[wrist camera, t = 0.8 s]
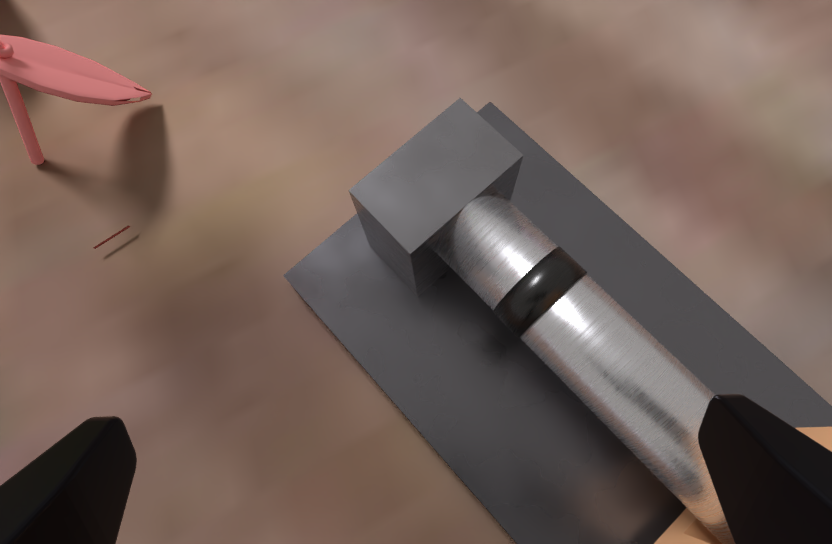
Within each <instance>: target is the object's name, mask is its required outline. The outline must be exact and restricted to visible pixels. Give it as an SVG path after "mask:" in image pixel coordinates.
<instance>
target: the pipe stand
mask: <svg viewBox="0 0 832 544" xmlns="http://www.w3.org/2000/svg"><path fill="white" fill-rule="evenodd" d="M349 193H350V195H351V198H352V201H353V203H354V206H355V208H356V211H357V214H356V215H355V216H353V217H352V218H351V219H350V220H349V221H347V222H346V223H345V224H344V225H343V226H342V227H340V228H339V229H338V230H337V231H336V232H334V233H333V234H332V235H331V236H330V237H328V238H327V239H326V240H325V241H324V242H322V243H321V244H320V245H319V246H318V247H317V248H315V249H314V250H313V251H312V252H311V253H309V254H308V255H307V256H306V257H305V258H303V259H302V260H301V261H300V262H299V263H297V264H296V265H295V266H294V267H293V268H292V269H290V270H289V271H288V272H287V273H286V274H284V275H283V276H284V277H285V278H286V279H287V281H288V282H289V283H290V284H291V285H292V286H293V287H294V289H295V290H296V291H297V292H298V293H299V294H300V295H301V297H302V298H303V299H304V300H305V301H306V302H307V303H308V305H309V306H310V307H311V308H312V309H313V310H314V311H315V313H316V314H317V315H318V316H319V317H320V318H321V320H322V321H323V322H324V323H325V324H326V325H327V326H328V328H329V329H330V330H331V331H332V332H333V333H334V334H335V336H336V337H337V338H338V339H339V340H340V341H341V342H342V344H343V345H344V346H345V347H346V348H347V349H348V350H349V352H350V353H351V354H352V355H353V356H354V357H355V358H356V360H357V361H358V362H359V363H360V364H361V365H362V366H363V368H364V369H365V370H366V371H367V372H368V373H369V375H370V376H371V377H372V378H373V379H374V380H375V381H376V383H377V384H378V385H379V386H380V387H381V388H382V389H383V391H384V392H385V393H386V394H387V395H388V396H389V397H390V399H391V400H392V401H393V402H394V403H395V404H396V405H397V407H398V408H399V409H400V410H401V411H402V412H403V413H404V415H405V416H406V417H407V418H408V419H409V420H410V421H411V423H412V424H413V425H414V426H415V427H416V428H417V429H418V431H419V432H420V433H421V434H422V435H423V436H424V438H425V439H426V440H427V441H428V442H429V443H430V444H431V446H432V447H433V448H434V449H435V450H436V451H437V452H438V454H439V455H440V456H441V457H442V458H443V459H444V460H445V462H446V463H447V464H448V465H449V466H450V467H451V468H452V470H453V471H454V472H455V473H456V474H457V475H458V476H459V478H460V479H461V480H462V481H463V482H464V483H465V484H466V486H467V487H468V488H469V489H470V490H471V491H472V493H473V494H474V495H475V496H476V497H477V498H478V499H479V501H480V502H481V503H482V504H483V505H484V506H485V507H486V509H487V510H488V511H489V512H490V513H491V514H492V515H493V517H494V518H495V519H496V520H497V521H498V522H499V523H500V525H501V526H502V527H503V528H504V529H505V530H506V531H507V533H508V534H509V535H510V536H511V537H512V538H513V539H514V541H515V542H516V543H517V544H654V543H655V542H656V541H657V540H658V539H659V537H660V536H661V535H662V534H663V533H664V532H665V531H666V530H667V529H668V528H669V527H670V525H671V524H672V523H673V522H674V521H675V520H676V519H677V518H678V517H679V516H680V515H681V513H682V512H683V511H684V510H685V509H686V508H688V509H689V510H690V512H691V513H692V514H693V515H694V516H695V517H696V518H697V519H698V520H699V521H700V522H701V523H702V524H703V525H704V526H705V527H706V528H707V529H708V530H709V531H710V532H711V533H712V534H713V535H714V536H715V537H716V538H717V539H718V540H719V541H720V542H721V543H722V544H735V542H734V540H733V537H732V535H731V532H730V529H729V527H728V524H727V522H726V519H725V516H724V513H723V511H722V508H721V505H720V502H719V499H718V497H717V494H716V491H715V488H714V486H713V483H712V480H711V477H710V475H709V472H708V469H707V466H706V464H705V461H704V458H703V455H702V453H701V450H700V447H699V442H698V432H699V428H700V425H701V423H702V420H703V417H704V415H705V412H706V409H707V406H708V404H709V401H710V399H711V398H712V397H713V396H715V395H720V394H741V395H744V396H746V397H747V398H749V399H751V400H752V401H754V402H755V403H757V404H758V405H760V406H762V407H763V408H765V409H766V410H768V411H769V412H771V413H772V414H774V415H776V416H777V417H779V418H780V419H782V420H783V421H785V422H786V423H788V424H790V425H791V426H793V427H794V428H803V427H832V406H831V405H830V404H829V403H828V402H826V401H825V400H824V399H823V398H822V397H821V396H820V395H819V394H817V393H816V392H815V391H814V390H813V389H812V388H811V387H810V386H808V385H807V384H806V383H805V382H804V381H803V380H802V379H801V378H800V377H798V376H797V375H796V374H795V373H794V372H793V371H792V370H791V369H789V368H788V367H787V366H786V365H785V364H784V363H783V362H782V361H780V360H779V359H778V358H777V357H776V356H775V355H774V354H773V353H771V352H770V351H769V350H768V349H767V348H766V347H765V346H764V345H763V344H761V343H760V342H759V341H758V340H757V339H756V338H755V337H754V336H752V335H751V334H750V333H749V332H748V331H747V330H746V329H745V328H743V327H742V326H741V325H740V324H739V323H738V322H737V321H736V320H734V319H733V318H732V317H731V316H730V315H729V314H728V313H727V312H725V311H724V310H723V309H722V308H721V307H720V306H719V305H718V304H717V303H715V302H714V301H713V300H712V299H711V298H710V297H709V296H708V295H706V294H705V293H704V292H703V291H702V290H701V289H700V288H699V287H697V286H696V285H695V284H694V283H693V282H692V281H691V280H690V279H688V278H687V277H686V276H685V275H684V274H683V273H682V272H681V271H680V270H678V269H677V268H676V267H675V266H674V265H673V264H672V263H671V262H669V261H668V260H667V259H666V258H665V257H664V256H663V255H662V254H660V253H659V252H658V251H657V250H656V249H655V248H654V247H653V246H651V245H650V244H649V243H648V242H647V241H646V240H645V239H644V238H642V237H641V236H640V235H639V234H638V233H637V232H636V231H635V230H634V229H632V228H631V227H630V226H629V225H628V224H627V223H626V222H625V221H623V220H622V219H621V218H620V217H619V216H618V215H617V214H616V213H614V212H613V211H612V210H611V209H610V208H609V207H608V206H607V205H605V204H604V203H603V202H602V201H601V200H600V199H599V198H598V197H597V196H595V195H594V194H593V193H592V192H591V191H590V190H589V189H588V188H586V187H585V186H584V185H583V184H582V183H581V182H580V181H579V180H577V179H576V178H575V177H574V176H573V175H572V174H571V173H570V172H568V171H567V170H566V169H565V168H564V167H563V166H562V165H561V164H560V163H558V162H557V161H556V160H555V159H554V158H553V157H552V156H551V155H549V154H548V153H547V152H546V151H545V150H544V149H543V148H542V147H540V146H539V145H538V144H537V143H536V142H535V141H534V140H533V139H531V138H530V137H529V136H528V135H527V134H526V133H525V132H524V131H522V130H521V129H520V128H519V127H518V126H517V125H516V124H515V123H514V122H512V121H511V120H510V119H509V118H508V117H507V116H506V115H505V114H503V113H502V112H501V111H500V110H499V109H498V108H497V107H496V106H494V105H493V104H492V103H491V102H489V103H488V104H487V105H485V106H484V107H483V108H482V109H481V110H479V111H478V112H477V113H476V112H475V111H474V110H473V109H472V108H471V107H470V106H469V105H468V104H467V103H465V102H464V101H463V100H462V99H461V98H459V99H458V100H457V101H456V102H455V103H453V104H452V105H451V106H450V107H449V108H447V109H446V110H445V111H444V112H442V113H441V114H440V115H439V116H438V117H436V118H435V119H434V120H433V121H432V122H430V123H429V124H428V125H427V126H426V127H424V128H423V129H422V130H421V131H420V132H418V133H417V134H416V135H415V136H414V137H412V138H411V139H410V140H409V141H408V142H406V143H405V144H404V145H403V146H401V147H400V148H399V149H398V150H397V151H395V152H394V153H393V154H392V155H391V156H389V157H388V158H387V159H386V160H385V161H383V162H382V163H381V164H380V165H379V166H377V167H376V168H375V169H374V170H373V171H371V172H370V173H369V174H368V175H367V176H365V177H364V178H363V179H362V180H360V181H359V182H358V183H357V184H356V185H354V186H353V187H352V188H351V189H350V190H349Z"/></svg>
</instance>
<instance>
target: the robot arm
mask: <svg viewBox="0 0 832 544" xmlns="http://www.w3.org/2000/svg"><path fill="white" fill-rule="evenodd" d="M698 442H699V447H700V450H701V453H702V455H703V458H704V461H705V464H706V466H707V469H708V472H709V475H710V477H711V480H712V483H713V486H714V488H715V491H716V494H717V497H718V499H719V502H720V505H721V508H722V511H723V513H724V516H725V519H726V522H727V524H728V527H729V529H730V532H731V535H732V537H733V540H734V542H735V544H832V451H830V450H828V449H827V448H825V447H824V446H822V445H821V444H819V443H818V442H816V441H814V440H813V439H811V438H810V437H808V436H807V435H805V434H804V433H802V432H800V431H799V430H797V429H796V428H794V427H793V426H791V425H790V424H788V423H786V422H785V421H783V420H782V419H780V418H779V417H777V416H776V415H774V414H772V413H771V412H769V411H768V410H766V409H765V408H763V407H762V406H760V405H758V404H757V403H755V402H754V401H752V400H751V399H749V398H747V397H746V396H744V395H741V394H720V395H715V396H713V397H712V398H711V399H710V401H709V404H708V406H707V409H706V412H705V415H704V417H703V420H702V423H701V425H700V428H699V432H698ZM136 462H137V458H136V452H135V449H134V447H133V444H132V442H131V440H130V437H129V435H128V432H127V430H126V427H125V425H124V423H123V421H122V420H121V419H120V418H119V417H115V416H112V417H93V418H90V419H87V420H86V421H84V422H83V423H82V424H80V425H79V426H78V427H76V428H75V429H74V430H73V431H71V432H70V433H69V434H67V435H66V436H65V437H63V438H62V439H61V440H60V441H58V442H57V443H56V444H54V445H53V446H52V447H50V448H49V449H48V450H46V451H45V452H44V453H43V454H41V455H40V456H39V457H37V458H36V459H35V460H33V461H32V462H31V463H30V464H28V465H27V466H26V467H24V468H23V469H22V470H20V471H19V472H18V473H17V474H15V475H14V476H13V477H11V478H10V479H9V480H7V481H6V482H5V483H4V484H2V485H1V486H0V544H116V540H117V536H118V532H119V529H120V525H121V521H122V518H123V514H124V510H125V506H126V503H127V499H128V495H129V492H130V488H131V484H132V481H133V477H134V473H135V469H136Z"/></svg>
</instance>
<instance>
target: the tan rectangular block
mask: <svg viewBox="0 0 832 544" xmlns="http://www.w3.org/2000/svg"><path fill="white" fill-rule="evenodd" d="M796 429H797V430H799V431H800V432H802V433H804V434H805V435H807V436H808V437H810V438H811V439H813V440H814V441H816V442H818V443H819V444H821V445H822V446H824V447H825V448H827V449H828V450H830V451H832V427H803V428H796ZM654 544H722V543H721V542H720V541H719V540H718V539H717V538H716V537H715V536H714V535H713V534H712V533H711V532H710V531H709V530H708V529H707V528H706V527H705V526H704V525H703V524H702V523H701V522H700V521H699V520H698V519H697V518H696V517H695V516H694V515H693V514H692V513H691V512H690V510H689V509H688V508H686V509H685V510H684V511H683V512H682V513H681V515H680V516H679V517H678V518H677V519H676V520H675V521H674V522H673V523H672V524H671V525H670V527H669V528H668V529H667V530H666V531H665V532H664V533H663V534H662V535H661V536H660V537H659V539H658V540H657V541H656V542H655V543H654Z"/></svg>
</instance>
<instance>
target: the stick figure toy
mask: <svg viewBox="0 0 832 544" xmlns="http://www.w3.org/2000/svg"><path fill="white" fill-rule="evenodd" d="M0 82H1V85H2V88H3V90H4V93H5V95H6V98H7V101H8V103H9V106H10V108H11V111H12V114H13V116H14V119H15V121H16V124H17V127H18V129H19V132H20V134H21V137H22V139H23V142H24V145H25V147H26V150H27V152H28V155H29V158H30V160H31V162H32V163H33V164H36V165H39V164H42V163H43V162H44V157H43V155H42V152H41V149H40V146H39V144H38V141H37V138H36V135H35V132H34V130H33V127H32V124H31V121H30V118H29V116H28V113H27V110H26V107H25V105H24V102H23V99H22V96H21V93H20V91H19V88H18V85H17V82H18V83H20V84H23V85H25V86H28V87H30V88H33V89H35V90H37V91H40V92H44V93H47V94H51V95H55V96H58V97H62V98H66V99H69V100H73V101H77V102H85V103H94V104H102V105H111V106H115V105H121V104H128V103H135V102H140V101H143V100H146V99H149V98H150V97H151V95H152V93H151V92H150V91H148V90H146V89H145V88H143V87H141V86H140V85H138V84H136V83H135V82H133V81H131V80H129V79H127V78H125V77H123V76H122V75H120V74H118V73H116V72H114V71H112V70H110V69H108V68H107V67H105V66H103V65H101V64H99V63H97V62H95V61H93V60H90V59H88V58H85V57H83V56H80V55H77V54H75V53H72V52H70V51H67V50H64V49H62V48H59V47H57V46H53V45H50V44H46V43H42V42H38V41H34V40H31V39H27V38H23V37H17V36H9V35H0ZM136 97H141V98H140V101H127V100H130V99H131V98H136ZM129 227H130V226H127V227H126V228H124V229H122V230H121V231H119V232H118V233H116V234H114V235H113V236H111V237H110V238H108V239H106V240H105V241H103V242H102V243H100V244H98V245H97V246H95V247H94V249H96V248H97V247H99V246H101V245H102V244H104V243H105V242H107V241H109V240H110V239H112V238H113V237H115V236H116V235H118V234H120V233H121V232H123V231H124V230H126V229H128V228H129Z"/></svg>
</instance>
